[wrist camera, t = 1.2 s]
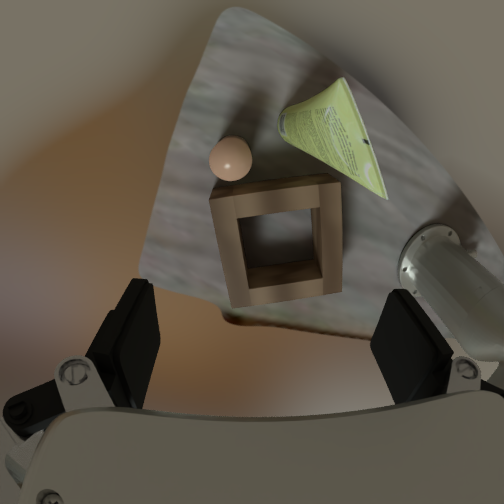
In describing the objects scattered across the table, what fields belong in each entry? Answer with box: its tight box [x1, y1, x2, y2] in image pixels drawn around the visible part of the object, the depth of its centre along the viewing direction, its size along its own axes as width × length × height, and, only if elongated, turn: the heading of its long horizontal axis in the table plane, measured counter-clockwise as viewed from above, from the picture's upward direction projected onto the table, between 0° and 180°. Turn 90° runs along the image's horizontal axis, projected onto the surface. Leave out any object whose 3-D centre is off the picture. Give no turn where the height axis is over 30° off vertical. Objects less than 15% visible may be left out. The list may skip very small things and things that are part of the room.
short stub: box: [209, 135, 252, 181], centre depth 29 cm, size 4×4×7 cm
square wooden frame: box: [209, 173, 342, 308], centre depth 35 cm, size 14×14×5 cm
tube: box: [277, 77, 389, 200], centre depth 23 cm, size 6×5×20 cm
